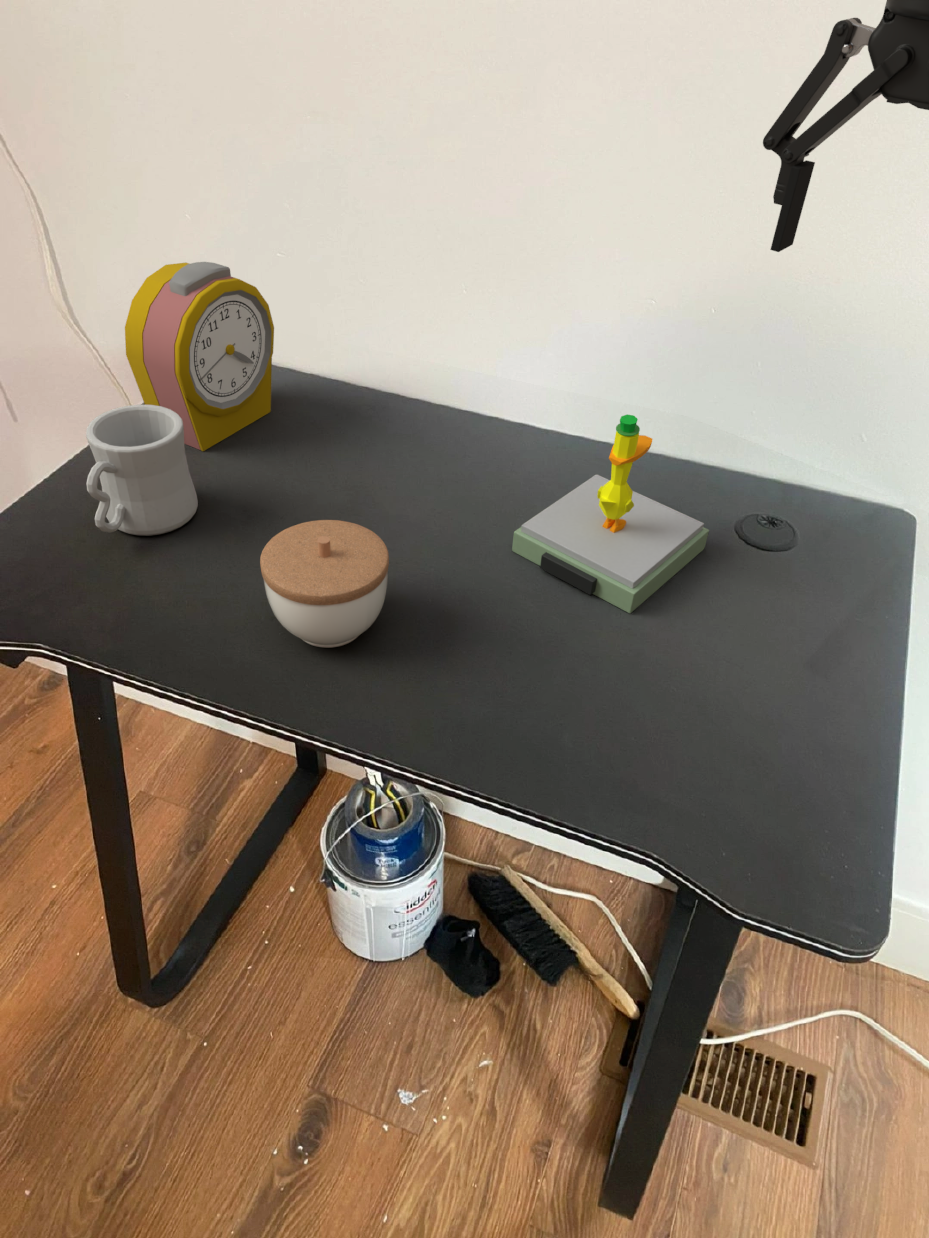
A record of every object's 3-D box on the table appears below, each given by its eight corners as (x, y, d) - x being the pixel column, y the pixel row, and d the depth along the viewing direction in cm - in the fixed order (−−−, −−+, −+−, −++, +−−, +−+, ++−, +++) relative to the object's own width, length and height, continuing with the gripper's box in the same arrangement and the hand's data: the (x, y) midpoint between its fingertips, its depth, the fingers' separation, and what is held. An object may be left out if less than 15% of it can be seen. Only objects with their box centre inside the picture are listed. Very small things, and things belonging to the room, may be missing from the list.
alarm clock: (196, 460, 102) (168, 297, 90) (143, 437, 105) (109, 277, 93) (284, 407, 112) (270, 254, 100) (233, 389, 115) (213, 238, 103)
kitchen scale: (704, 549, 93) (711, 523, 91) (625, 617, 85) (631, 591, 83) (591, 495, 100) (595, 470, 98) (507, 554, 91) (509, 527, 89)
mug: (142, 481, 98) (123, 395, 92) (216, 500, 96) (202, 414, 89) (65, 544, 89) (39, 454, 83) (145, 567, 87) (125, 477, 81)
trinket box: (335, 572, 88) (331, 489, 82) (414, 625, 83) (415, 541, 76) (243, 623, 82) (231, 538, 76) (322, 684, 76) (315, 598, 70)
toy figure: (620, 504, 93) (639, 396, 85) (649, 518, 91) (672, 410, 83) (580, 531, 89) (597, 421, 81) (610, 547, 87) (630, 435, 80)
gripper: (765, -70, 64) (700, 240, 78) (1162, -27, 53) (1003, 329, 67) (810, -74, 69) (741, 221, 83) (1186, -34, 57) (1032, 300, 71)
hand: (858, 269), depth 75 cm, fingers open, 13 cm apart
